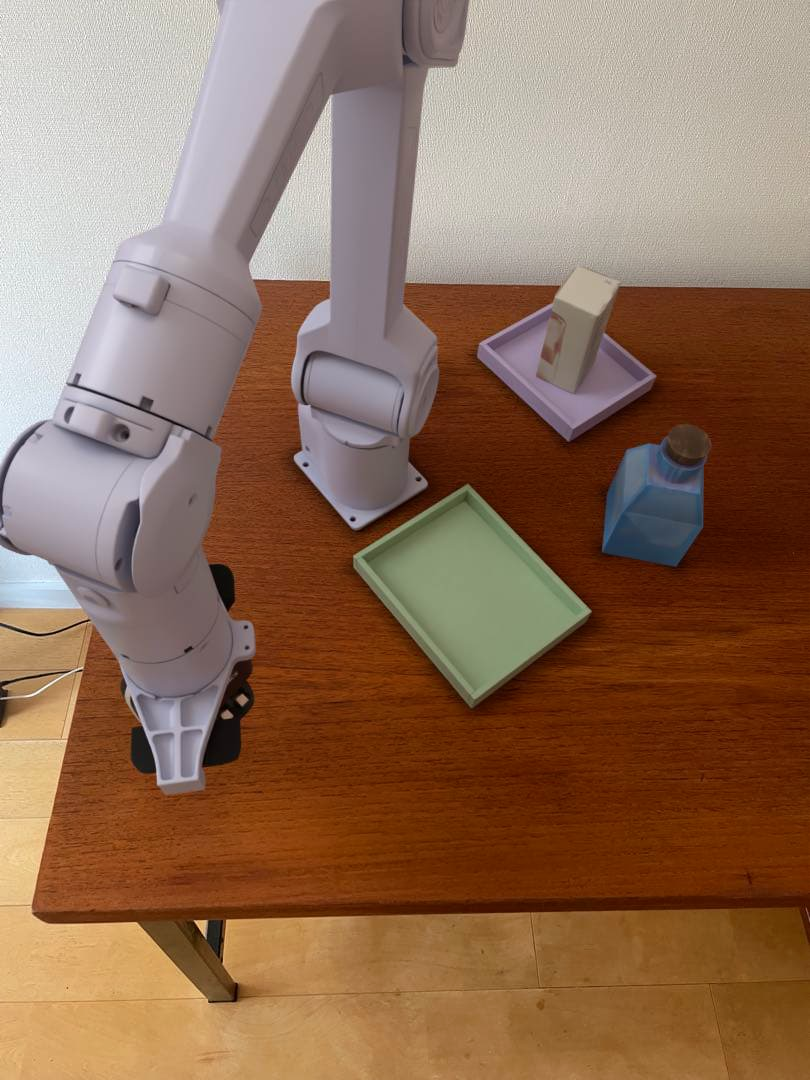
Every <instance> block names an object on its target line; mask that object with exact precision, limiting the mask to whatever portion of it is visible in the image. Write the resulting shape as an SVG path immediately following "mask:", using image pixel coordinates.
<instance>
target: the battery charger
mask: <svg viewBox="0 0 810 1080" xmlns="http://www.w3.org/2000/svg"><path fill="white" fill-rule="evenodd" d="M253 669H254V666H253V661H252V658H251V659H249V660H244V661H239V662H237V663H236V664H235V665H234V667H233V669H232V672H231V675H230V678H229V681H228V684H227V687H226V690H225V693H224V696H223V699H222V701H221V704H220V707H219V710H218V713H217V716H216V719H215V720H221V719H229V718H237V717H240V721H242V720H243V719H244V718H245V716H246V715H247V714H248V713H249V712H250V710H251V709H252V708H253V706H254V704H255V694H254V691H253V689H252V686H251V684H250V683H249V681H248V679H249V678H250V677H251V675H252V673H253V671H254V670H253ZM122 676H123V675H122ZM119 689H120V692H121V696H122V698H123V699H124V701H125V703H126V704H127V706H128V708H129V709H130V711H131V712H132V714H133V715H134V717H135V718H136V719H137V721H138V723H141V720H140V718H139V715H138V712H137V710H136V707H135V705H134V702H133V699H132V697H131V694H130V692H129V689H128V686H127V684H126V681H125V679H124V676H123V677H122V679H121V681H120V687H119ZM141 725H142V723H141Z"/></svg>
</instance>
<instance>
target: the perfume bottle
mask: <svg viewBox="0 0 810 1080" xmlns="http://www.w3.org/2000/svg"><path fill="white" fill-rule="evenodd" d="M711 449H712V442H711V438H710V437H709V435H708V434H707V433H706V432H705V431H704V430H703V429H702V428H699V426H695V425H693V424H684V423H683V424H677V425H676V426H674V427H672V428H671V429H670V430H669V431H668V435H667V436H665V437H664V438H663V439H662V441H661V443H660V444H654V443H646V444H643V445H642V444H641V445H639V446H636V447H632V448H628V449H626V451H625V453H624V455H623V457H622V460H621V462H620V464H619V466H618V469H617V471H616V473H615V475H614V477H613V480H612V482H611V484H610V487H608V490H607V493H606V505H605V516H604V525H603V526H604V528H603V539H602V548H601V549H602V551H601V553H603V554H608V555H614V556H618V557H623V558H629V559H633V560H639V561H644V562H649V563H655V564H659V565H664V566H665V565H666V566H669V567H675V568H676V567H678V565H679V563H680V562H681V561H682V559H683V558H684V556H685V555H686V553H687V551H688V550H689V548H690V547H691V546H692V544H693V543H694V541H695V540H696V538H697V537H698V535H699V534H700V533H701V531H702V530H703V528H704V466H705V464H706V462H707V458H708V454H709V453H710V451H711Z"/></svg>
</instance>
